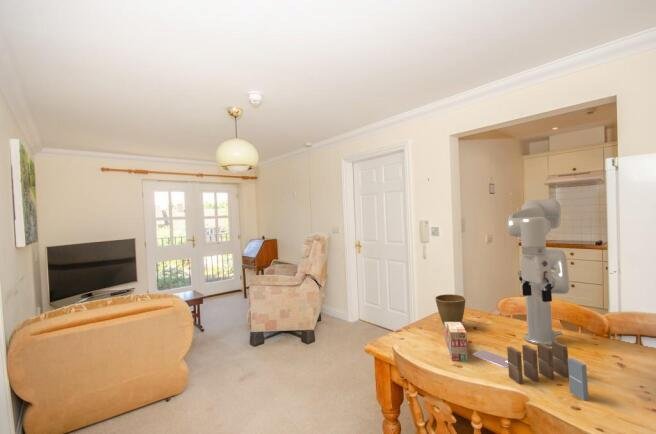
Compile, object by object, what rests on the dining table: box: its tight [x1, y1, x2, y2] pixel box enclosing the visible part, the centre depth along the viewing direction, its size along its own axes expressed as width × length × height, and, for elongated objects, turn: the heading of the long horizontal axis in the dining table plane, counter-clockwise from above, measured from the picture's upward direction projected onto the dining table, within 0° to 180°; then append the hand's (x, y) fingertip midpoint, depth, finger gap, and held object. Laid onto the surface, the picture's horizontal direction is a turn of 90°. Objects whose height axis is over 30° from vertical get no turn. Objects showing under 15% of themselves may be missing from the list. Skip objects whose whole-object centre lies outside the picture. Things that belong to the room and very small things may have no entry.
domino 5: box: [568, 357, 589, 401], centre depth 102 cm, size 2×5×11 cm, turn 7°
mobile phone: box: [471, 349, 508, 368], centre depth 131 cm, size 8×1×15 cm
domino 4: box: [551, 341, 569, 379], centre depth 116 cm, size 2×5×11 cm, turn 7°
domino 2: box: [521, 344, 540, 383], centre depth 114 cm, size 2×5×11 cm, turn 7°
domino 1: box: [506, 346, 524, 385], centre depth 113 cm, size 2×5×11 cm, turn 7°
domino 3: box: [536, 343, 555, 381], centre depth 115 cm, size 2×5×11 cm, turn 7°
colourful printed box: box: [443, 322, 469, 362], centre depth 141 cm, size 21×6×12 cm, turn 167°
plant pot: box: [434, 293, 466, 325], centre depth 168 cm, size 15×15×16 cm
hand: (536, 298), depth 116 cm, fingers open, 9 cm apart
